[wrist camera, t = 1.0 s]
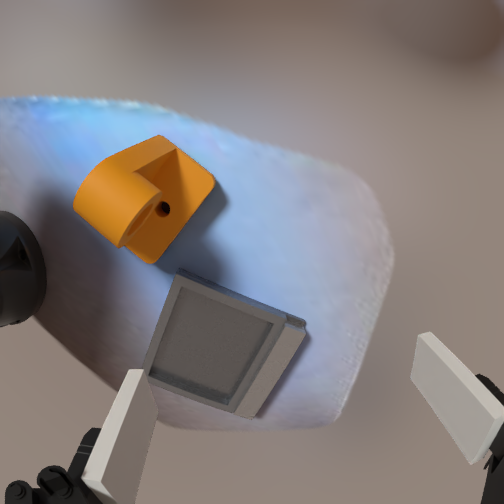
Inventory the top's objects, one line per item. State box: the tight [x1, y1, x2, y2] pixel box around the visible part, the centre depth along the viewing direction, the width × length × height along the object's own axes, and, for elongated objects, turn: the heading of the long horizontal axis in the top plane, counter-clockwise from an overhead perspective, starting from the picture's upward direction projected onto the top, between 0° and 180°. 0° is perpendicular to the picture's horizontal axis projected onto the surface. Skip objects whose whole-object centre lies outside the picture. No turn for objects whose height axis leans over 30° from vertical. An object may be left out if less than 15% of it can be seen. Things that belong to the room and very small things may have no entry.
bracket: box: [73, 135, 216, 264], centre depth 26 cm, size 11×7×12 cm, turn 140°
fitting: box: [142, 268, 306, 420], centre depth 35 cm, size 15×15×2 cm
